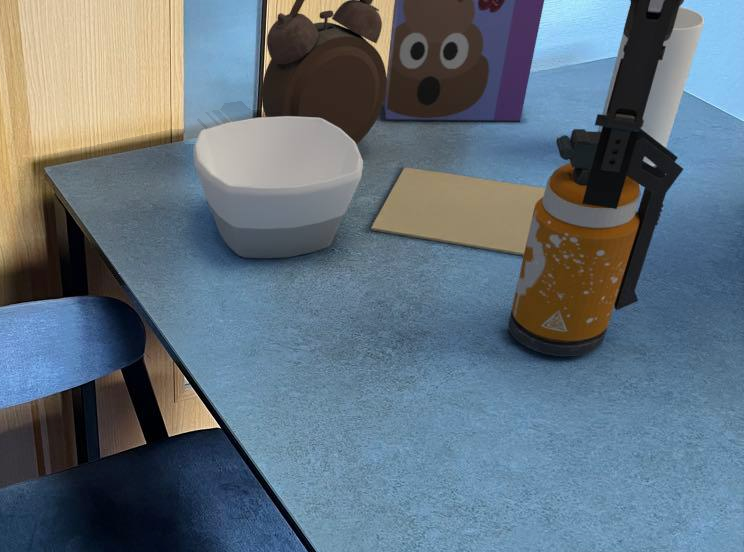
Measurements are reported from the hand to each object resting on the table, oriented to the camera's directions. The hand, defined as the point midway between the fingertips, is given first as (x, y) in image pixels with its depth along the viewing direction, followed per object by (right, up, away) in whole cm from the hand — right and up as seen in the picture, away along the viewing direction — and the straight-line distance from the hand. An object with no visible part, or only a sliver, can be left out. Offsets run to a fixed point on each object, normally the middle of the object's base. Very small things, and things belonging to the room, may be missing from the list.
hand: (608, 169), depth 88 cm
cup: (+18, +16, +40) cm, 46 cm away
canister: (0, -12, +12) cm, 17 cm away
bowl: (-27, +3, +27) cm, 38 cm away
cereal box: (-2, +25, +49) cm, 55 cm away
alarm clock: (-20, +16, +41) cm, 48 cm away
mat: (-4, +6, +30) cm, 31 cm away
